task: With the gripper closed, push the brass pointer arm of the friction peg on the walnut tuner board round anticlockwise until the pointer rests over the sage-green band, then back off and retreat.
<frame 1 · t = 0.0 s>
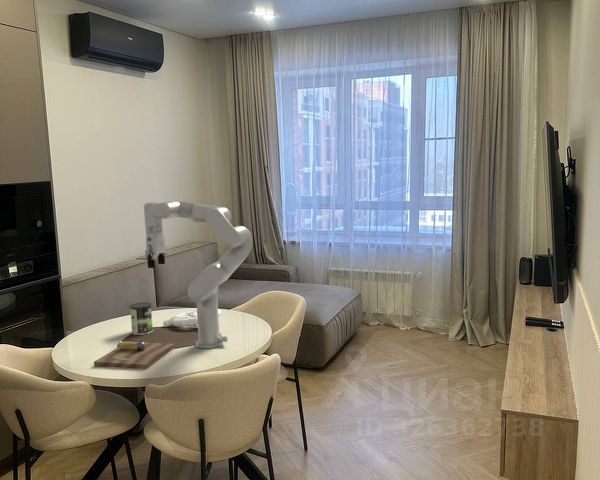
hand: (156, 265, 245), 37 cm above the table, tool pointing down, fingers open, 9 cm apart
coffee can: (142, 332, 268), on the table
pretzel: (194, 323, 280), on the table
friction peg: (131, 345, 235), point 4 cm above the table, hinge at 0.0°
tuner board: (136, 356, 231), on the table
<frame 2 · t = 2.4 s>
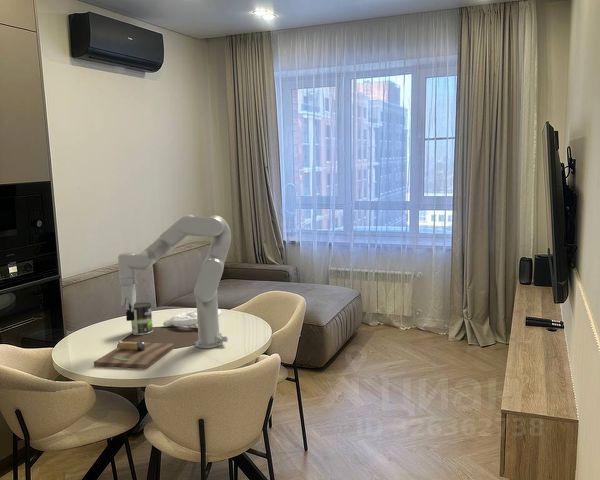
hand: (130, 320, 240), 14 cm above the table, tool pointing down, fingers closed
nothing on the table moved.
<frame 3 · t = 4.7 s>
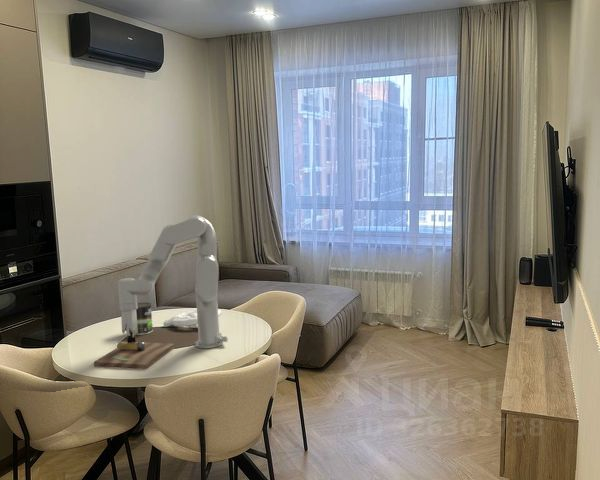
hand: (131, 345, 238), 3 cm above the table, tool pointing down, fingers closed
friction peg: (131, 345, 234), point 4 cm above the table, hinge at 2.0°, touching gripper
everything else where it was.
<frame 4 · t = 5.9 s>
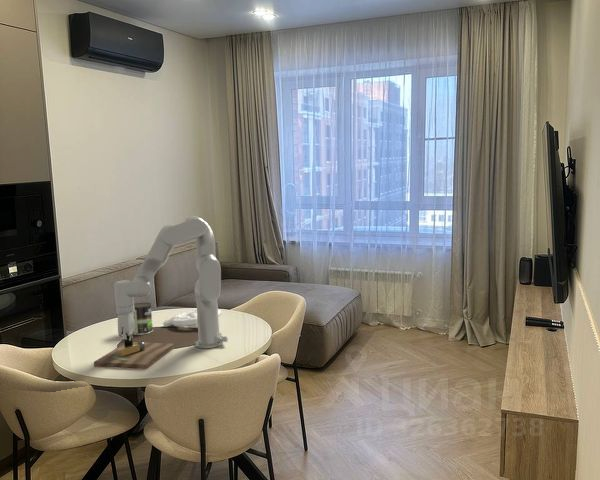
hand: (129, 349, 232), 3 cm above the table, tool pointing down, fingers closed
friction peg: (131, 348, 230), point 4 cm above the table, hinge at 63.2°, touching gripper
everything else where it was.
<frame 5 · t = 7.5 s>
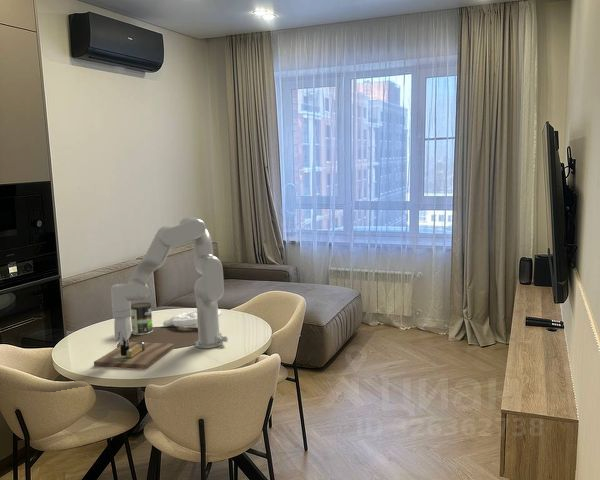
hand: (125, 355, 225), 3 cm above the table, tool pointing down, fingers closed
friction peg: (135, 349, 229), point 4 cm above the table, hinge at 91.2°, touching gripper
everything else where it was.
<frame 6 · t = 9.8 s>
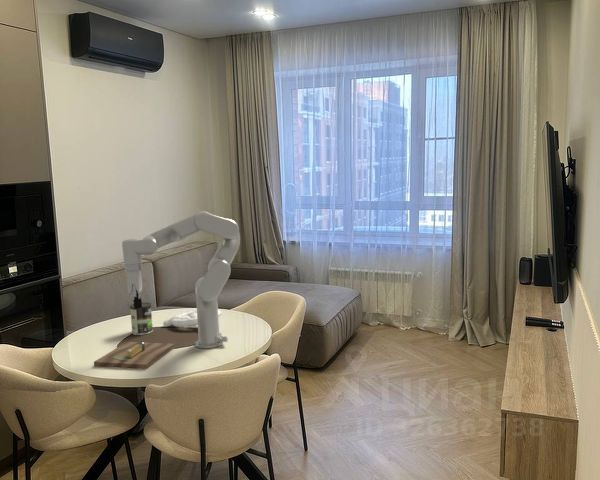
hand: (138, 307, 235), 21 cm above the table, tool pointing down, fingers closed
friction peg: (135, 349, 229), point 4 cm above the table, hinge at 91.3°
everything else where it was.
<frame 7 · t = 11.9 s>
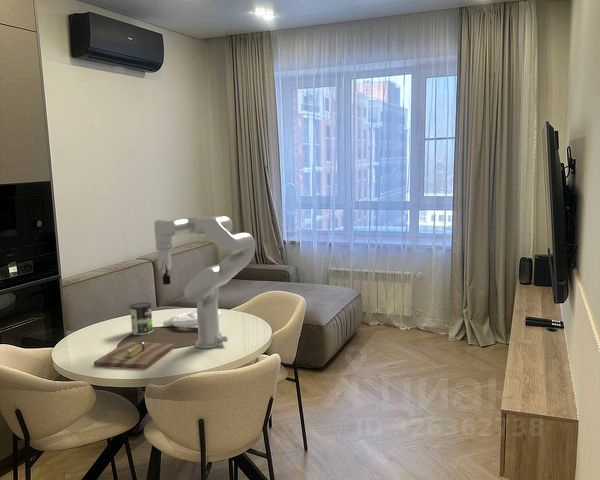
hand: (166, 284, 251), 27 cm above the table, tool pointing down, fingers closed
at the end: friction peg at +91° (first picture: +0°) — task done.
